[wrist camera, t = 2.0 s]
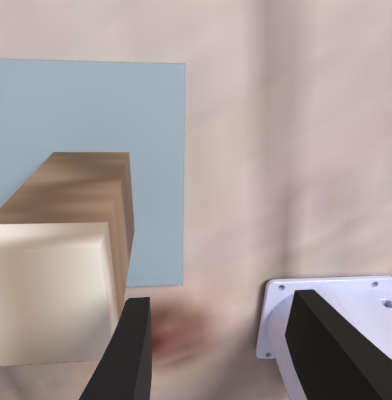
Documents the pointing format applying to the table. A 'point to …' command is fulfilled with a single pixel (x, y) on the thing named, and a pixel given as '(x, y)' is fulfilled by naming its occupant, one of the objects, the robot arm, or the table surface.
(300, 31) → the table surface
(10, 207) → the walnut block
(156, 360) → the table surface
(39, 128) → the light blue mat
